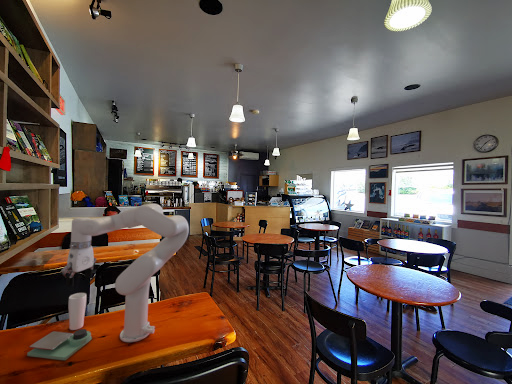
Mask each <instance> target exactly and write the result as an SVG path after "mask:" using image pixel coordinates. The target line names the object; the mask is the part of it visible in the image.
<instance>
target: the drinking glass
mask: <svg viewBox="0 0 512 384" xmlns="http://www.w3.org/2000/svg"><path fill="white" fill-rule="evenodd" d="M87 298H88V297H87V293H86V292H77V293H73V294H70V295H69V297H68V305H67V306H68V307H67V309H68V323H69V324H68V325H69V328H68V329H69V330H70V331H77V330H80V329H83V327H84V322H85V315H86V308H87Z"/></svg>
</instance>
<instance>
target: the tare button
mask: <svg viewBox="0 0 512 384" xmlns="http://www.w3.org/2000/svg"><path fill="white" fill-rule="evenodd" d="M87 331H88V330H87V329H86V328H80V329H78V330H75V331H74V332H73V334H74V340H79V339H82V338H84V337H86V333H87Z"/></svg>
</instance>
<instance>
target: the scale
mask: <svg viewBox="0 0 512 384" xmlns="http://www.w3.org/2000/svg"><path fill="white" fill-rule="evenodd" d="M92 339H93V336H92V333H91V331H89V330H87V333H86V337H84V338H82V339H79V340H74V335H73V336H72V337H70V338H69V339H67V340H66V341H65V342H63V343H62V344H60V345H59V346H58V347H56V348H55V349H53V350H46V349H38V348H32V349H31V350H30V351H28V352H27V354H26V355H27V357H33V358H41V359H49V360H56V361H57V360H58V361H67V360H68V359H70V357H72V356H73V355H74V354H75V353H76V352H78V351H79V350H80V349H81V348H83V347H84V346H85V345H86V344H88V343H89V342H90V341H91V340H92Z"/></svg>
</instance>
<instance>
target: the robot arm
mask: <svg viewBox="0 0 512 384" xmlns="http://www.w3.org/2000/svg"><path fill="white" fill-rule="evenodd" d="M140 226H142V227H144V228H146V229H147V230H149V231H151V232H153V233H155V234H156V235H159V236H160V237H164V238H162V240H160V242H158V243H157V245H156V246H154V247H152V249H150V250H148V251H147V252H144V253H143V254H141V255H140V256H138V257H137V258H136V259H135V260H134V261H132V263H131V264H129V265H128V266H127V267H126V269H124V270H123V271H122V272H121V273H120V274H119V275H118V276H117V278H116V280H115V282H114V288H115V291H116V292H117V293H118V294H119V295H122V296H125V298H124V299H125V301H124V322H123V329H122V330H121V331H120V333H119V339H120V341H121V342H124V343H135V342H139V341H142V340H143V339H145V338H147V337H148V336H149V335H150V334H152V335H153V334H155V330H156V326H155V325H151V324H150V321H148V319H149V318H148V317H149V316H148V315H149V296H150V286H151V282H152V281H151V280H152V277H153V276H154V275H155V274H156V273H157V272H158V271H159V270H161V269H162V268H163V267H164V266H165V264H166V263H167V262H168V261H169V260H170V259H171V258H172V257H174V255H176V253H177V252H178V251H179V250H180V249H181V248H182V247H183V246H184V244H185V243H186V241H187V239H188V236H189V233H190V232H189V231H190V228H189V227H190V226H189V222H188V220H187V219H186V217H184V216H182V215H181V214H180V215H179V214H174V215H171V216H168V215H165V214H164V209H163V207H162V206H161V205H159V204H158V203H146V204H142V205H140V206H137V207H132V208H128V209H125V210H123V212H120V213H116V214H113V215H109V216H102V217H96V218H91V217H85V216H83V217H75V218H73V219H72V220H71V233H70V244H69V248H70V249H69V251H68V256H67V262H66V265H65V266H64V267H63V268H62V269H60V270H61V274H62V276H63V277H64V278H65V286H66V287H70V288H72V287H74V286H75V283H74V282H75V277H74V275H75V274H76V273H79V272H82V271H84V278H85V279H92V278H93V270H94V266H96V262H97V260H98V259H97V258H96V257H95V255H94V254H95V253H94V248H93V246H92V237H96V236H100V235H104V234H108V233H111V232H114V231H118V230H122V229H133V228H136V227H140Z"/></svg>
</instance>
